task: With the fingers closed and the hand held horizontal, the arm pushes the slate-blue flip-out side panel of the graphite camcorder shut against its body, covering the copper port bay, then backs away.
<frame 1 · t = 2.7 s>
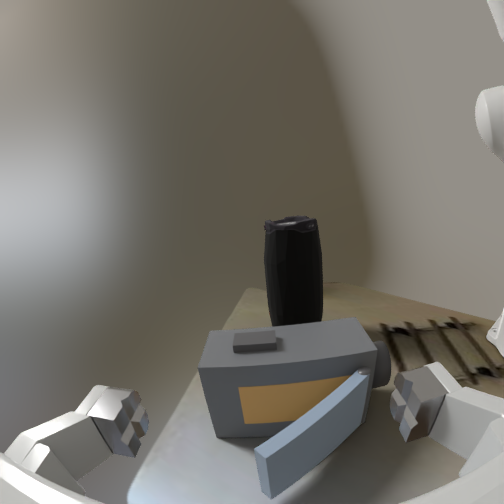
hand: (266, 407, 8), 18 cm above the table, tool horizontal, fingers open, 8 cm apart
camcorder body: (289, 412, 28), on the table
portable speaker: (297, 337, 46), on the table
side panel: (321, 434, 19), point 5 cm above the table, hinge at 40.0°
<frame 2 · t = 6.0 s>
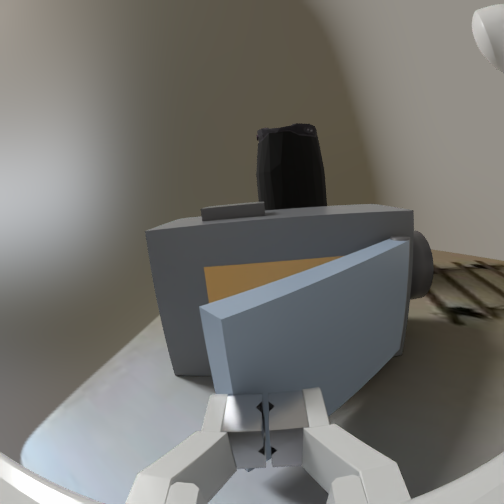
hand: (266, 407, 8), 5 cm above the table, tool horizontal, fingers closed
camcorder body: (288, 345, 21), on the table
portable speaker: (297, 276, 38), on the table
side panel: (345, 336, 12), point 5 cm above the table, hinge at 39.5°, touching gripper
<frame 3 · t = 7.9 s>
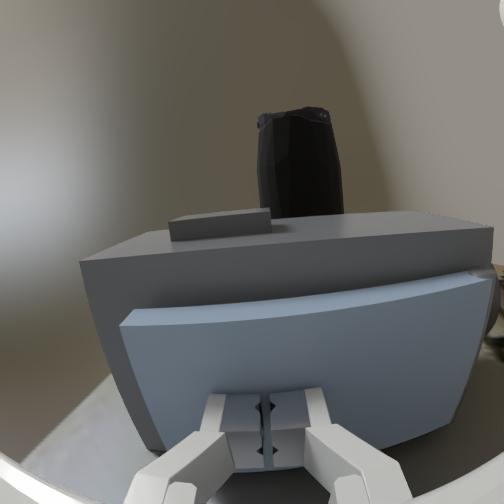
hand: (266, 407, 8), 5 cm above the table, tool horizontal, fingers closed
camcorder body: (300, 406, 14), on the table
portable speaker: (307, 293, 32), on the table
side panel: (339, 393, 8), point 5 cm above the table, hinge at 3.0°, touching gripper
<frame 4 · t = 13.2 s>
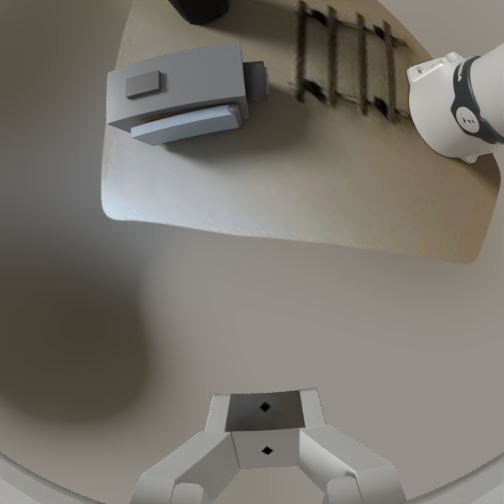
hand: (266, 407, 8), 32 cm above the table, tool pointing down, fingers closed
camcorder body: (190, 104, 35), on the table
portable speaker: (205, 9, 32), on the table
side panel: (189, 125, 31), point 5 cm above the table, hinge at 3.0°
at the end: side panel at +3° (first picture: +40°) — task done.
